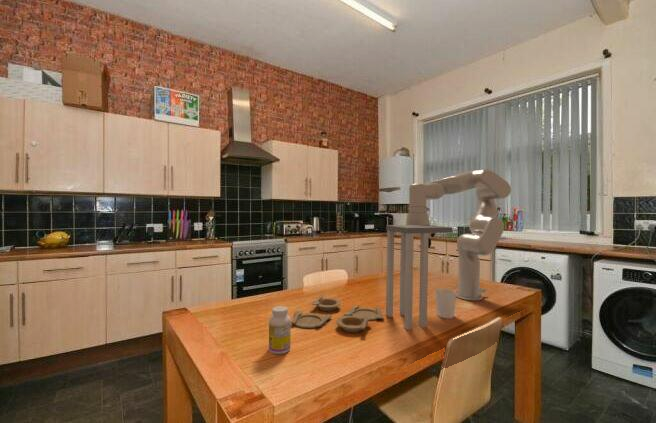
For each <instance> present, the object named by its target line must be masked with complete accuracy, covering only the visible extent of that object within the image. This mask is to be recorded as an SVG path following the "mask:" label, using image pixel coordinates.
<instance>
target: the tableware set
mask: <svg viewBox="0 0 656 423" xmlns="http://www.w3.org/2000/svg"><path fill="white" fill-rule="evenodd" d="M311 305H314V306H317V307H318V308H319V309H320V310H321V311H323V312H332V311H335V310H336V308H337V307H338V308H339V306H341V305H342V302H341V301H340V300H339V299H336V298H331V297H324V295H322V294H320V295H319V296H318V297H317V299H316V300H313V301H311ZM293 315H294V316H293V317H292V318H291V325H294V326H295V327H298V328H301V329H316V328H320V327H323V326H325V324H326V323H327V321H328V320H330V319H331V318H332V316H333V314H329V313H328V314H326V315H322V314H320V313H319V314H318V313H313V312H311V313H310V312H308V313H303V311H302V310H301V311H300V310H295V311H294V313H293ZM379 319H382V320H384V319H385V316H384V315H383V312H382V311H381V308H380V307H377V306H376V307H375V308H374V307H361V306H360V305H357V304H356V305H355V306H353V307H352V308H350V309H348V310H347V311H346V312H344V313H343V316H339V317H338V318H337V319H336V320H335V321H336V322H335V323H336V325H337V326H338V327H340V328H342V330H343V331H345V332H347V333H358V332H360V331H362V330H365V329H366V327H368V325H369V321H377V320H379Z"/></svg>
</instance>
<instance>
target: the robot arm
mask: <svg viewBox="0 0 656 423" xmlns="http://www.w3.org/2000/svg"><path fill="white" fill-rule="evenodd" d="M408 187H409V188H408V191H409V192H408V193H409V196H408V197H409V198H408V199H409V202H408V204H409V206H408V208H409V210H408V212H409V213H407V215H406V222H405V225H430V219H429V214H428V213H427V212H429V211H430V207H428V206H427V200H428V201H429V200H431V201H433V200H439V199H440V198H442V197H443V196H444V195H445V196H446V195H453V194H458V193H459V194H460V193H462V192H465V191H469V190H472V189H476V190H475V192H476V193H475V194H476V196H477V200H478V208H477V210H476V212H475V213H474V215H473V217H472V219H471V220H470V223H469V226H468V228H469V231H470V232H472V233H463V234H461V235H459V236H458V238H457V241H456V247H457V252H458V284H457V286H458V288H457V289H458V290H457V291H455V292H456V298H457V299H462V300H465V301H471V302H473V301H474V302H475V301H481V300H482V301H483V295H482V293H483V294H484V293H487V288H481V287H480V279H481V278H480V276H481V275H480V273H481V270H480V268H481V262H480V258H479V256H483V257H484V256H489V255H491V254H492V253H493V251H495V249H496V247H497V244H498V243H499V241H500V239H501V237H502V235H503V233H504V230H505V229H504V228H505V224H504V221H503V220H502V219H501V218H500V217H498V216H496V214H497V211H498V210H497V205H496V203H495V200H497V199H498V200H500V199H501V200H502V199H506V198H507V197H509V196H510V195H511V192H512V188H511V185H510V183H509V182H508V181H507V180H506V179H504V178H503V177H501V176H500V175H499V174H497V173H495V172H494V171H493V170H491V169H487V168H485V169H483V168H482V169H477V170H470V171H467V172H464V173H460V174H456V175H452V176H448V177H444V178H441V179H438V180H433V181H429V182H426V183H413V184H412V183H411V184H410V185H409V186H408ZM399 234H400V235H401V232H399ZM436 234H437V233H429V235H428V249H431V246H432V239H433V238H434V237H435V235H436ZM414 236H421V233H414Z"/></svg>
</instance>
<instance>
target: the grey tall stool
mask: <svg viewBox="0 0 656 423" xmlns="http://www.w3.org/2000/svg"><path fill="white" fill-rule="evenodd" d="M385 227H386V232H387V233H386V234H387V236H386V281H385V282H386V283H385V286H386V290H385V295H386V296H385V303H386V304H385V316H386V317H388V318H392V317H393V316H394V275H395V274H394V270H395V269H394V268H395V266H394V262H395V260H394V258H395V256H394V255H395V232H396V233H400V232H401V234H400V270H399V275H400V276H399V278H400V280H399V314H400V315H401V316H404V317H403V318H404V321H403V322H404V324H403V326H404V327H403V328H404V329H405V330H407V331H410V330H412V329H413V299H414V298H413V296H414V295H413V293H414V292H413V290H414V289H413V288H414V287H413V286H414V242H415V241H414V237H415V235H414V233H421V235H420V248H419V250H420V251H419V301H418V302H419V303H418V304H419V306H418V307H419V308H418V326H419V327H420V328H422V329H423V328H427V327H428V293H429V292H428V287H429V286H428V285H429V280H428V279H429V274H428V273H429V248H428V235H429V234H431V233H436V234H449V233H453V227H452V226H451V227H450V226H441V225H431V224H429V225H406V224H402V225H401V224H399V225H398V224H397V225H396V224H395V225H394V224H389V225H388V224H386V226H385Z"/></svg>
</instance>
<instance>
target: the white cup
mask: <svg viewBox="0 0 656 423" xmlns="http://www.w3.org/2000/svg"><path fill="white" fill-rule="evenodd" d="M456 292H457V291H455V290H453V289H448V288H437V289H435V305H436V306H435V308H436V316H437V317H439V318H443V319H453V318H454V317H455V311H456V303H457V302H456V301H457V297H456Z"/></svg>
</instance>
